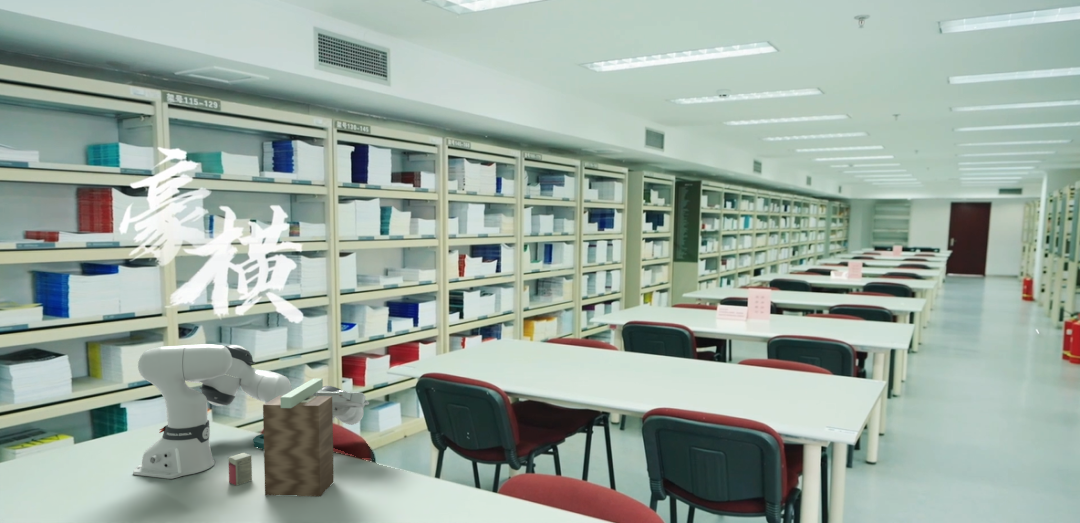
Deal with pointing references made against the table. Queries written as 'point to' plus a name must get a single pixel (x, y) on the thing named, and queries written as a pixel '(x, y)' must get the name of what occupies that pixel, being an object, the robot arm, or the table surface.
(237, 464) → the small box
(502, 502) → the table surface
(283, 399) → the bar
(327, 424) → the stand
